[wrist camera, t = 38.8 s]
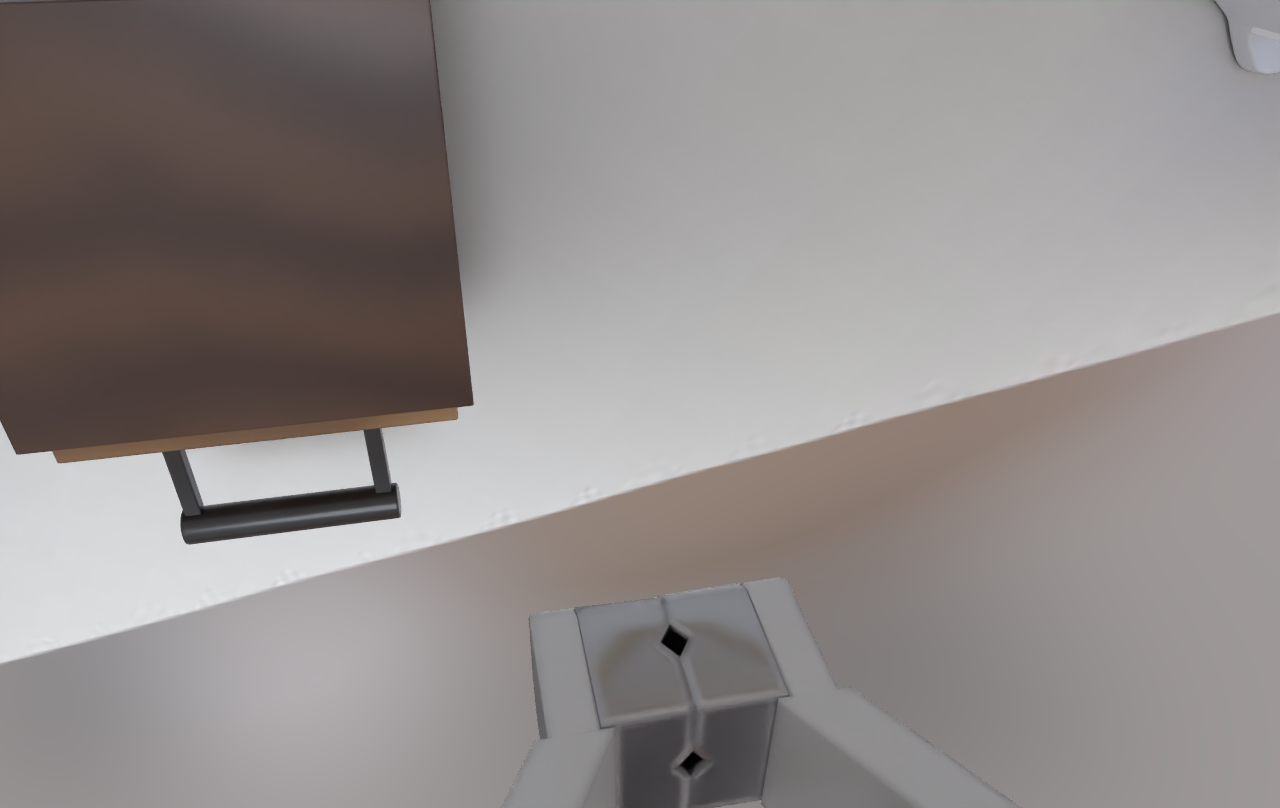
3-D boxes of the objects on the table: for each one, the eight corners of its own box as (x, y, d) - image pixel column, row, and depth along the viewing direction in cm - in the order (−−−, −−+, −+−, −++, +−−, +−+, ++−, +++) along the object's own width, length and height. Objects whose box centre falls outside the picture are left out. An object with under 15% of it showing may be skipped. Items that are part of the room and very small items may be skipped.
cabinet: (459, 283, 40) (474, 406, 33) (88, 314, 37) (15, 455, 30) (421, -70, 32) (428, -11, 25) (-53, -61, 29) (-198, 8, 22)
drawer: (461, 419, 43) (471, 527, 37) (147, 453, 41) (106, 575, 35) (412, 8, 33) (415, 69, 27) (-13, 22, 30) (-110, 93, 24)
